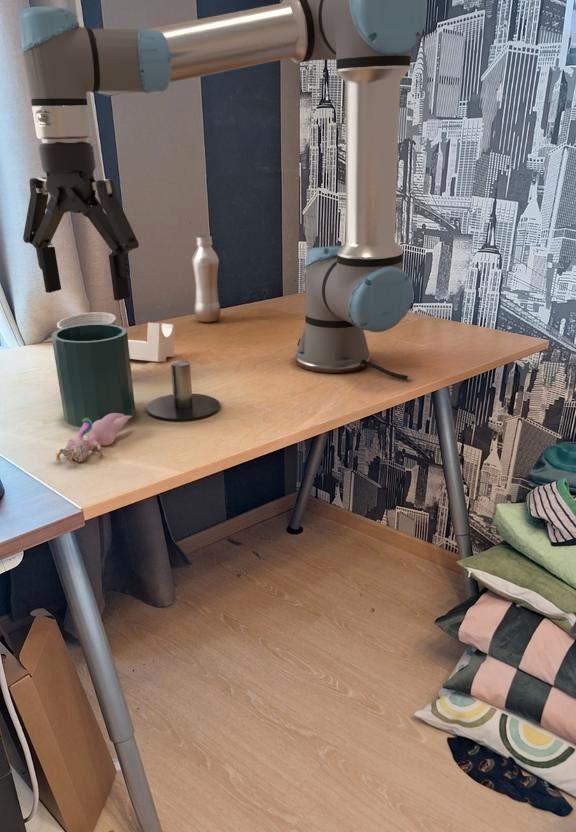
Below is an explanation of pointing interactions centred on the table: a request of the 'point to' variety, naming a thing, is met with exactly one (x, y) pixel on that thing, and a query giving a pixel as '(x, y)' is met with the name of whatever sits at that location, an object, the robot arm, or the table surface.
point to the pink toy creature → (93, 436)
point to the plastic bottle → (205, 280)
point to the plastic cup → (87, 319)
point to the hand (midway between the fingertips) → (87, 295)
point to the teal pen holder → (93, 372)
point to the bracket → (154, 343)
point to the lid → (182, 399)
